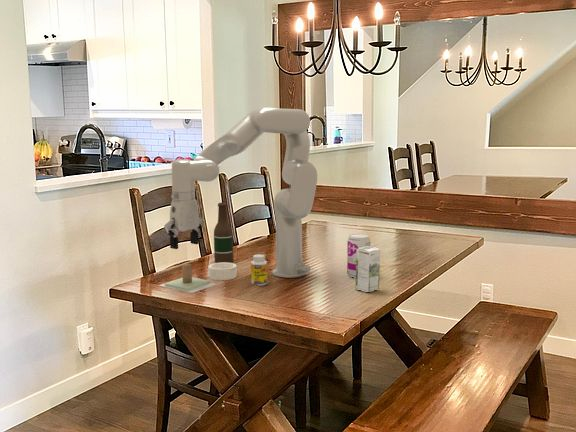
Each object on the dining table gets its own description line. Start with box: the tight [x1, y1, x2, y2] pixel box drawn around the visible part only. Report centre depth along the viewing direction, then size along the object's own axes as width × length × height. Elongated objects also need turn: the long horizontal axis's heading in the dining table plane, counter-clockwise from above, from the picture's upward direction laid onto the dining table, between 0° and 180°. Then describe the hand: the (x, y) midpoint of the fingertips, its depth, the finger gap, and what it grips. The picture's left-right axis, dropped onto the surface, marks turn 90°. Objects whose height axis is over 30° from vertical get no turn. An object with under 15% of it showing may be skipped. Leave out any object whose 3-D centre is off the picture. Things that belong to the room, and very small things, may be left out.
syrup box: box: [355, 245, 381, 293], centre depth 205 cm, size 6×6×14 cm
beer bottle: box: [213, 202, 234, 263], centre depth 244 cm, size 8×8×24 cm
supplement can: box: [346, 233, 371, 279], centre depth 222 cm, size 8×8×15 cm
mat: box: [158, 282, 217, 294], centre depth 213 cm, size 16×12×1 cm
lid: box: [165, 263, 211, 292], centre depth 212 cm, size 11×11×7 cm
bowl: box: [207, 262, 238, 281], centre depth 223 cm, size 10×10×4 cm
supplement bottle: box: [250, 254, 268, 287], centre depth 214 cm, size 6×6×10 cm
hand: (184, 246), depth 210 cm, fingers open, 9 cm apart
